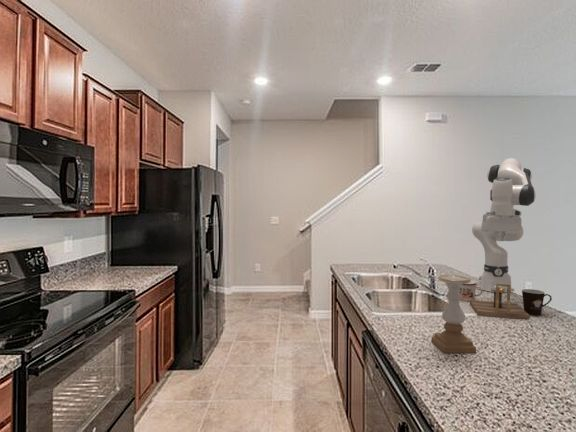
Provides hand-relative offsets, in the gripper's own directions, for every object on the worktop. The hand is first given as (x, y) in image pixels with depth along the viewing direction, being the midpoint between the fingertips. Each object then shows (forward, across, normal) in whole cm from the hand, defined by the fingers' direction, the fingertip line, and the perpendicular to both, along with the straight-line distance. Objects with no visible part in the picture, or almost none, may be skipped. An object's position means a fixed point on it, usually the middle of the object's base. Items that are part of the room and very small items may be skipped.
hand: (500, 241), depth 186 cm
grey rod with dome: (+22, -7, -5) cm, 23 cm away
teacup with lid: (+31, -5, +14) cm, 35 cm away
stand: (+31, -8, -7) cm, 33 cm away
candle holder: (+31, -57, -39) cm, 76 cm away
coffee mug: (+31, +6, -15) cm, 35 cm away
